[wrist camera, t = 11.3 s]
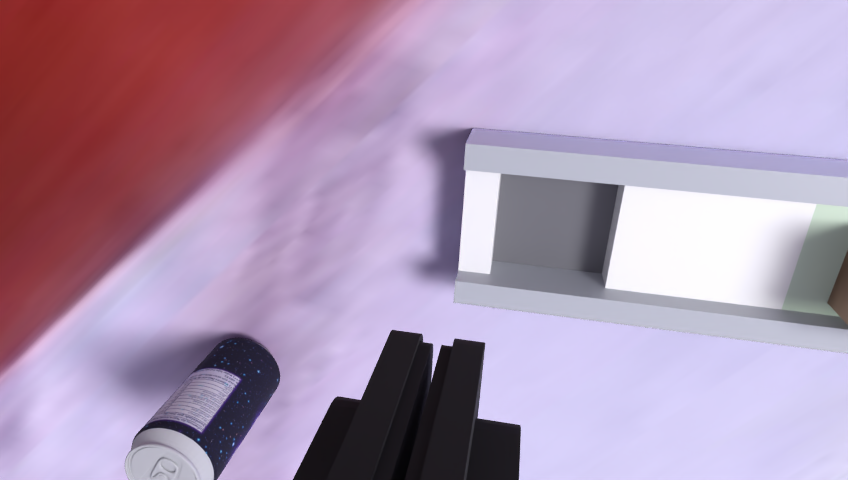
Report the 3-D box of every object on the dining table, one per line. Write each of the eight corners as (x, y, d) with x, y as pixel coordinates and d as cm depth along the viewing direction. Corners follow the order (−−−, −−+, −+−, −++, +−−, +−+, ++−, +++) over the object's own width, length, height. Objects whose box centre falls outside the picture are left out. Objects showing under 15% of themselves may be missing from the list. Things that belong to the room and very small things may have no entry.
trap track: (472, 128, 36) (465, 143, 32) (1137, 184, 31) (1218, 211, 27) (461, 274, 40) (453, 302, 36) (1047, 345, 35) (1107, 387, 31)
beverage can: (206, 367, 47) (106, 480, 36) (233, 318, 45) (135, 424, 34) (266, 404, 47) (185, 527, 37) (296, 357, 45) (219, 474, 34)
